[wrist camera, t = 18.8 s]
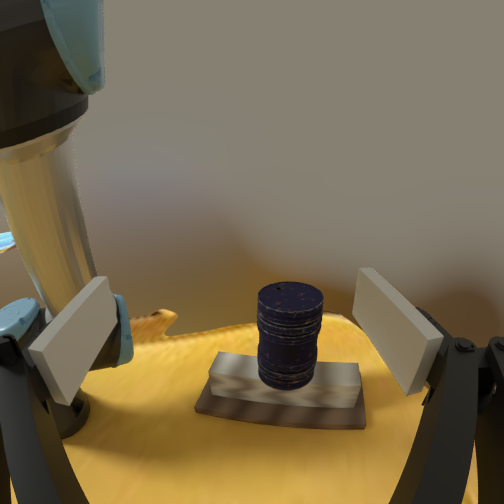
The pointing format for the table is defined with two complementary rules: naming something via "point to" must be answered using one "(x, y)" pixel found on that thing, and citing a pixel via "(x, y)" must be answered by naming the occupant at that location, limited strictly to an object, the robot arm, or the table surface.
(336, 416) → the ridge stand
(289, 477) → the table surface
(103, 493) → the table surface
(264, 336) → the storage jar
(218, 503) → the table surface
